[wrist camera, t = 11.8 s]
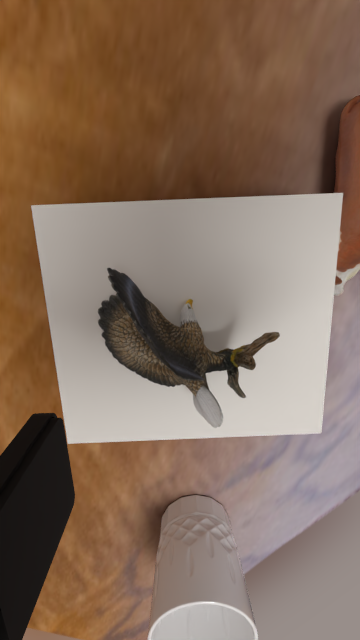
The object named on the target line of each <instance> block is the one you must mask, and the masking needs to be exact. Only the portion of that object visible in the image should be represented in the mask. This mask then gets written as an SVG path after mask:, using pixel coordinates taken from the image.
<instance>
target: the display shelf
mask: <svg viewBox="0 0 360 640" xmlns="http://www.w3.org/2000/svg"><path fill="white" fill-rule="evenodd" d="M342 201H343V193H326V194H301V195H276V196H252V197H227V198H202V199H177V200H152V201H128V202H103V203H78V204H53V205H31V208H32V215H33V221H34V228H35V234H36V241H37V247H38V254H39V260H40V267H41V273H42V279H43V286H44V292H45V299H46V305H47V312H48V318H49V325H50V331H51V338H52V344H53V351H54V357H55V364H56V370H57V376H58V383H59V389H60V396H61V402H62V409H63V415H64V422H65V428H66V435H67V441H68V444H72V443H96V442H121V441H145V440H169V439H194V438H218V437H242V436H267V435H291V434H316V433H321V430H322V420H323V409H324V398H325V387H326V376H327V365H328V354H329V343H330V332H331V321H332V310H333V299H334V289H335V278H336V267H337V256H338V245H339V234H340V223H341V212H342ZM107 268H111V269H112V270H113V269H115V270H117V271H118V272H120V273H124V274H126V275H127V276H128V277H129V278H130V279H131V280H132V281H133V282H134V283H135V284H136V285H137V287H138V288H139V289H140V291H141V292H142V294H143V296H144V297H145V298H146V299H148V300H149V301H150V302H152V303H153V304H154V305H155V306H156V307H157V308H158V309H159V311H160V312H161V313H162V314H163V316H164V317H165V318H166V319H167V320H168V321H169V322H171V323H172V324H174V325H176V326H178V327H180V313H181V310H182V308H183V306H184V305H185V303H186V302H187V300H189V299H192V300H193V303H192V308H193V310H194V314H195V317H196V319H197V321H198V324H199V326H200V328H201V330H202V334H203V337H204V344H205V346H206V347H207V348H208V349H209V350H211V351H214V352H219V351H221V350H224V349H226V348H229V349H236V348H239V347H241V346H243V345H248V344H251V343H252V342H253V341H254V340H256V339H258V338H259V337H261V336H262V335H263V334H264V333H270V332H279V334H280V336H279V338H278V339H276V340H275V341H273V342H271V343H268V344H266V345H265V346H264V347H262V348H261V349H260V350H259V351H258V352H257V353H256V354H255V355H254V356H253V358H254V360H255V363H256V367H255V369H253V370H248V369H246V368H243V367H240V366H239V367H238V371H239V379H238V383H239V386H240V388H241V390H242V391H243V392H244V394H245V395H246V398H241V397H239V396H238V395H237V394H236V393H235V391H234V390H233V389H232V388H230V386H229V385H228V384H227V380H228V374H227V370H224V371H213V372H211V373H206V379H207V384H208V387H209V390H210V391H211V393H212V394H213V395H214V397H215V398H216V400H217V402H218V403H219V405H220V408H221V410H222V413H223V422H222V424H221V426H220V427H217V428H214V427H212V426H211V424H209V423H208V422H207V421H206V420H205V419H204V417H203V416H201V414H199V412H198V411H197V410H196V408H195V406H194V403H193V393H192V392H191V391H190V390H189V389H188V388H187V387H186V386H185V385H182V384H181V385H179V386H177V385H175V387H172V386H170V387H167V386H165V385H160V384H157V383H153V382H151V381H149V380H148V379H146V378H143V377H141V376H140V375H138V374H136V373H135V372H133V371H130V370H129V369H128V368H126V367H125V366H124V365H122V364H120V363H119V362H118V360H117V359H115V358H114V357H113V355H112V353H111V352H110V351H109V350H108V348H107V347H106V346H105V339H104V338H103V337H102V333H103V332H104V330H102V329H101V327H100V326H99V324H98V320H99V319H100V316H99V314H98V309H99V308H100V307H102V305H101V302H102V301H104V300H108V301H109V297H110V296H111V295H116V293H117V292H116V291H115V290H114V289H113V288H112V286H111V282H110V281H109V279H108V276H109V273H108V271H107Z"/></svg>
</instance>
